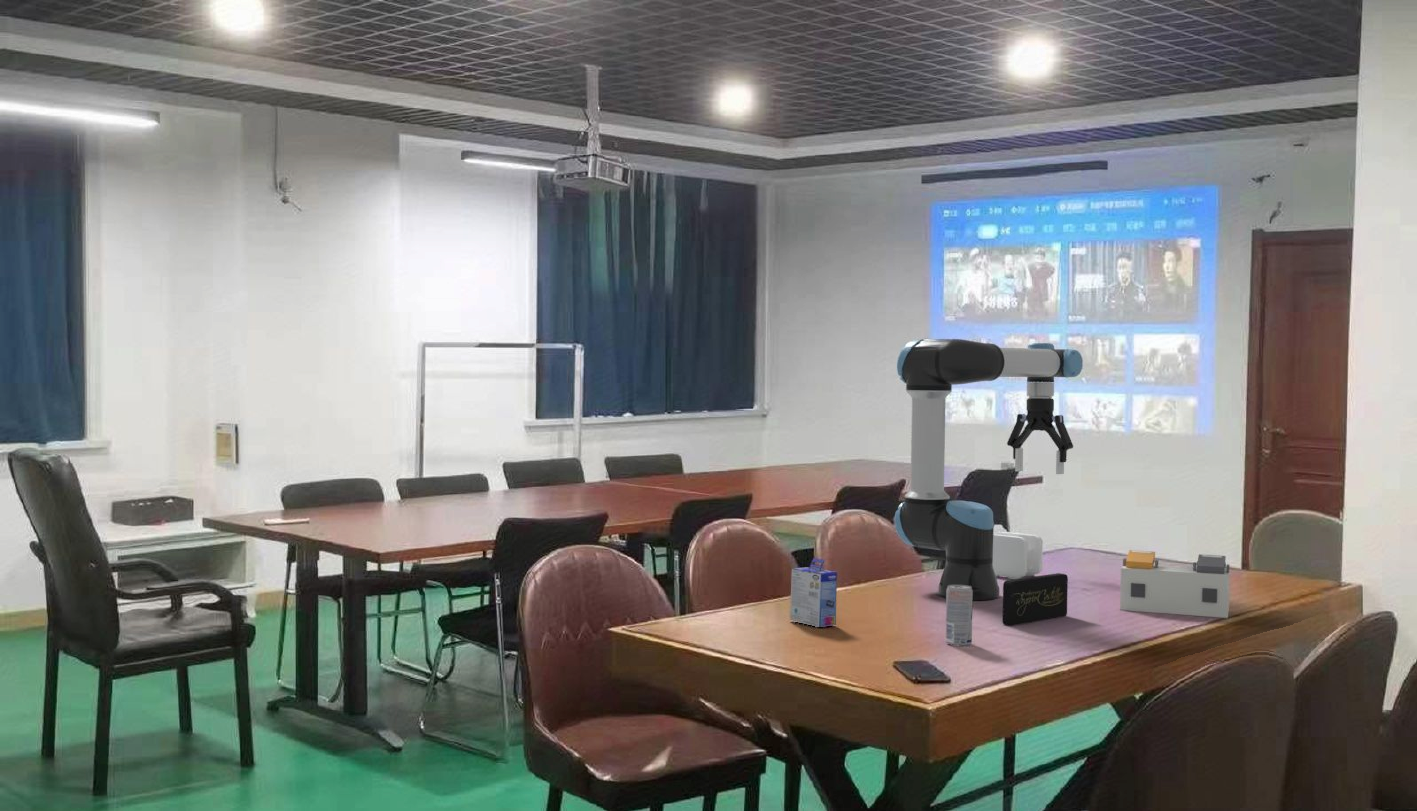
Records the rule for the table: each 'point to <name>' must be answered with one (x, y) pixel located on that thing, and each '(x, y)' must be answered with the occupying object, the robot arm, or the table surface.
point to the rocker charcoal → (1211, 564)
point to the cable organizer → (1017, 554)
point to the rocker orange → (1140, 559)
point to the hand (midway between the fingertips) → (1039, 472)
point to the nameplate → (1034, 599)
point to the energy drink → (959, 615)
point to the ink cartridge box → (813, 595)
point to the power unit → (1175, 590)
